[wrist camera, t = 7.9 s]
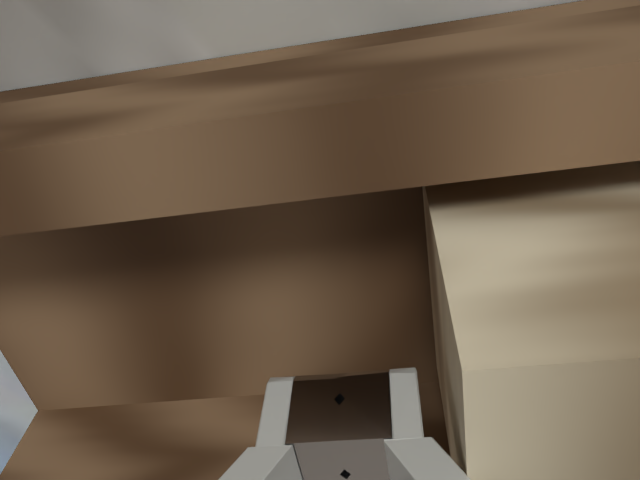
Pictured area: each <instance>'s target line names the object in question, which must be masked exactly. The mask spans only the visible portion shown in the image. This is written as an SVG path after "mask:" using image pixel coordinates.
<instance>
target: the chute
mask: <svg viewBox="0 0 640 480" xmlns="http://www.w3.org/2000/svg"><path fill="white" fill-rule="evenodd" d="M632 161H640V0H584V1H578V2H571V3H565V4H559V5H552V6H546V7H539V8H533V9H527V10H520V11H514V12H507V13H501V14H495V15H488V16H482V17H476V18H469V19H463V20H456V21H450V22H444V23H437V24H431V25H424V26H418V27H412V28H405V29H399V30H393V31H386V32H380V33H373V34H367V35H361V36H354V37H348V38H341V39H335V40H329V41H322V42H316V43H310V44H303V45H297V46H290V47H284V48H278V49H271V50H265V51H258V52H252V53H246V54H239V55H233V56H226V57H220V58H214V59H207V60H201V61H195V62H188V63H182V64H175V65H169V66H163V67H156V68H150V69H143V70H137V71H131V72H124V73H118V74H112V75H105V76H99V77H92V78H86V79H80V80H73V81H67V82H60V83H54V84H48V85H41V86H35V87H28V88H22V89H16V90H9V91H3V92H0V350H1V352H2V353H3V355H4V357H5V358H6V360H7V361H8V363H9V365H10V366H11V368H12V369H13V371H14V373H15V374H16V376H17V377H18V379H19V381H20V382H21V384H22V385H23V387H24V389H25V390H26V392H27V393H28V395H29V397H30V398H31V400H32V401H33V403H34V405H35V406H36V408H37V409H38V412H37V414H36V415H35V417H34V419H33V420H32V422H31V424H30V425H29V427H28V429H27V431H26V432H25V434H24V436H23V437H22V439H21V441H20V442H19V444H18V446H17V447H16V449H15V451H14V453H13V454H12V456H11V458H10V459H9V461H8V463H7V464H6V466H5V468H4V469H3V471H2V473H1V475H0V480H218V479H219V478H220V477H221V476H222V475H223V474H224V473H225V472H226V471H227V470H228V468H229V467H230V466H231V465H232V464H233V463H234V462H235V461H236V460H237V459H238V457H239V456H240V455H241V454H242V453H243V452H244V451H245V450H246V449H247V448H248V447H255V445H256V439H257V434H258V428H259V423H260V418H261V412H262V407H263V401H264V396H265V391H266V385H267V383H268V381H269V379H270V378H271V377H293V376H303V375H325V374H339V373H351V372H363V371H375V370H387V369H389V372H390V369H399V368H412V367H415V368H416V370H417V378H418V387H419V396H420V405H421V414H422V423H423V432H424V437H432V438H433V439H434V440H435V441H436V442H437V443H438V444H439V445H440V446H441V447H442V448H443V450H444V451H445V452H446V453H447V454H448V455H449V456H450V450H449V444H448V437H447V431H446V424H445V417H444V411H443V404H442V398H441V391H440V385H439V378H438V371H437V363H436V351H435V339H434V326H433V314H432V301H431V289H430V276H429V264H428V252H427V239H426V227H425V214H424V202H423V190H422V186H429V185H438V184H446V183H455V182H463V181H471V180H480V179H488V178H497V177H505V176H514V175H522V174H530V173H539V172H547V171H556V170H564V169H573V168H581V167H590V166H598V165H606V164H615V163H623V162H632Z"/></svg>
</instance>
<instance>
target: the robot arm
mask: <svg viewBox="0 0 640 480" xmlns="http://www.w3.org/2000/svg"><path fill="white" fill-rule="evenodd" d="M218 480H471V479H470V478H469V477H467V475H466V474H465V473H464V471H463V470H462V469H461V468H460V467H459V466H458V465H457V464H456V463H455V462H454V460H453V459H452V458H451V457H450V456H449V455H448V454H447V453H446V452H445V451H444V450H443V448H442V447H441V446H440V445H439V444H438V443H437V442H436V441H435V440H434V439H433V438H432V437H424V432H423V423H422V414H421V405H420V396H419V387H418V378H417V370H416V368H415V367H412V368H399V369H390V372H389V369H387V370H375V371H363V372H351V373H339V374H325V375H303V376H293V377H271V378H270V379H269V381H268V383H267V385H266V391H265V396H264V401H263V407H262V412H261V418H260V423H259V428H258V434H257V439H256V445H255V447H248V448H247V449H246V450H245V451H244V452H243V453H242V454H241V455H240V456H239V457H238V459H237V460H236V461H235V462H234V463H233V464H232V465H231V466H230V467H229V468H228V470H227V471H226V472H225V473H224V474H223V475H222V476H221V477H220V478H219V479H218Z"/></svg>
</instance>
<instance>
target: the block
mask: <svg viewBox="0 0 640 480" xmlns="http://www.w3.org/2000/svg"><path fill="white" fill-rule="evenodd" d="M422 190H423V202H424V214H425V227H426V239H427V252H428V264H429V276H430V289H431V301H432V314H433V326H434V339H435V351H436V363H437V371H438V378H439V385H440V391H441V398H442V404H443V411H444V417H445V424H446V431H447V437H448V444H449V450H450V457H451V458H452V459H453V460H454V462H455V463H456V464H457V465H458V466H459V467H460V468H461V469H462V470H463V471H464V473H465V474H466V475H467V477H469V478H470V479H471V480H640V161H632V162H623V163H615V164H606V165H598V166H590V167H581V168H573V169H564V170H556V171H547V172H539V173H530V174H522V175H514V176H505V177H497V178H488V179H480V180H471V181H463V182H455V183H446V184H438V185H429V186H422Z"/></svg>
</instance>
